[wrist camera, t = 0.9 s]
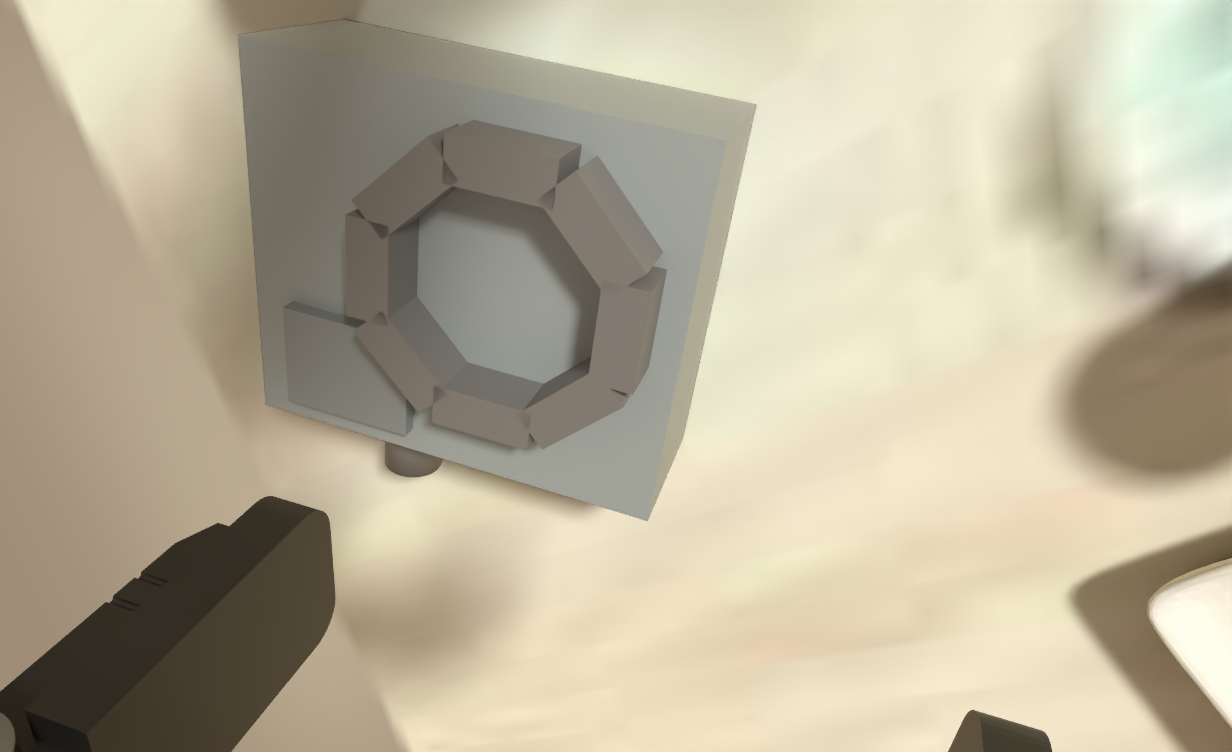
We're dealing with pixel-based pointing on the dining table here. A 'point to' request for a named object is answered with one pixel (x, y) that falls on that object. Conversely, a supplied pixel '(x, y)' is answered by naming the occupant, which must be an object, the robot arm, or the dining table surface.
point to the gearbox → (485, 252)
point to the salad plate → (1199, 629)
